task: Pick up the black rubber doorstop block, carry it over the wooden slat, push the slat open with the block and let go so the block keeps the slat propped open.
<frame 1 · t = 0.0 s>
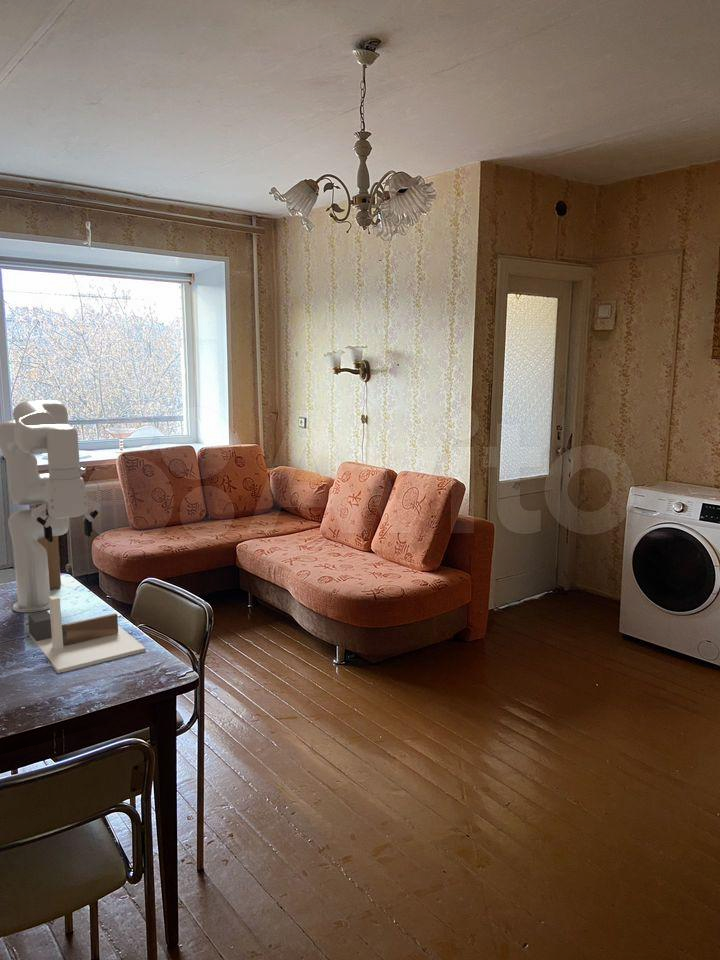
hand: (69, 538, 185), 31 cm above the table, tool pointing down, fingers open, 9 cm apart
doorstop block: (42, 634, 198), point 1 cm above the table, touching gate frame
wooden block: (44, 587, 245), on the table
wooden slat: (90, 629, 194), point 4 cm above the table, hinge at 0.0°
gate frame: (85, 644, 194), on the table
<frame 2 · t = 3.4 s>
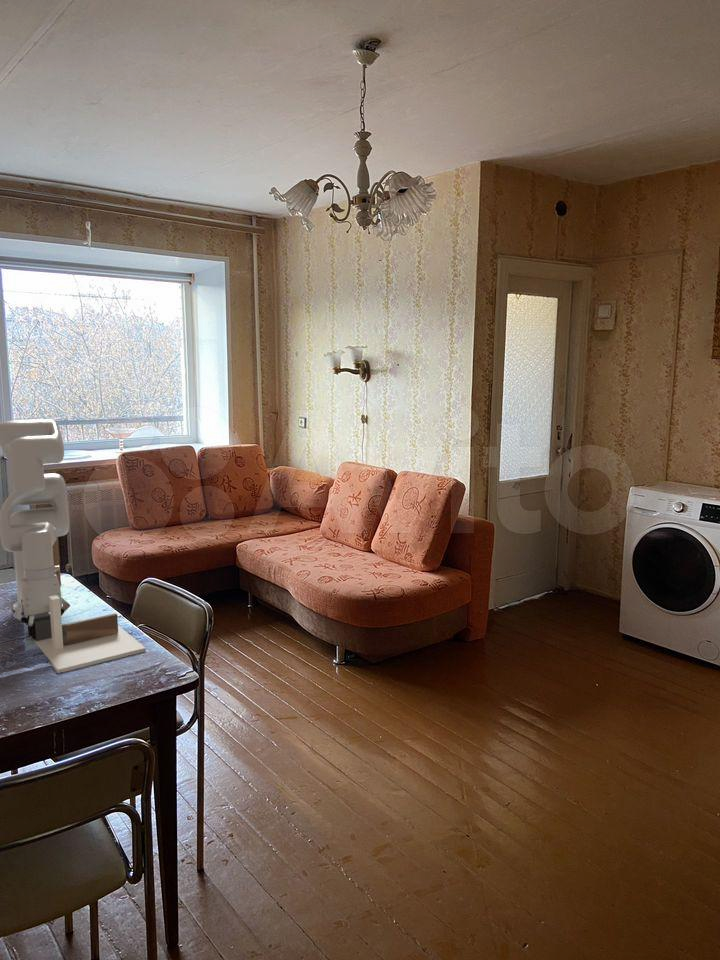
hand: (44, 634, 196), 2 cm above the table, tool pointing down, fingers closed on doorstop block, 5 cm apart
doorstop block: (42, 634, 198), point 1 cm above the table, touching gate frame, gripper
everything else where it was.
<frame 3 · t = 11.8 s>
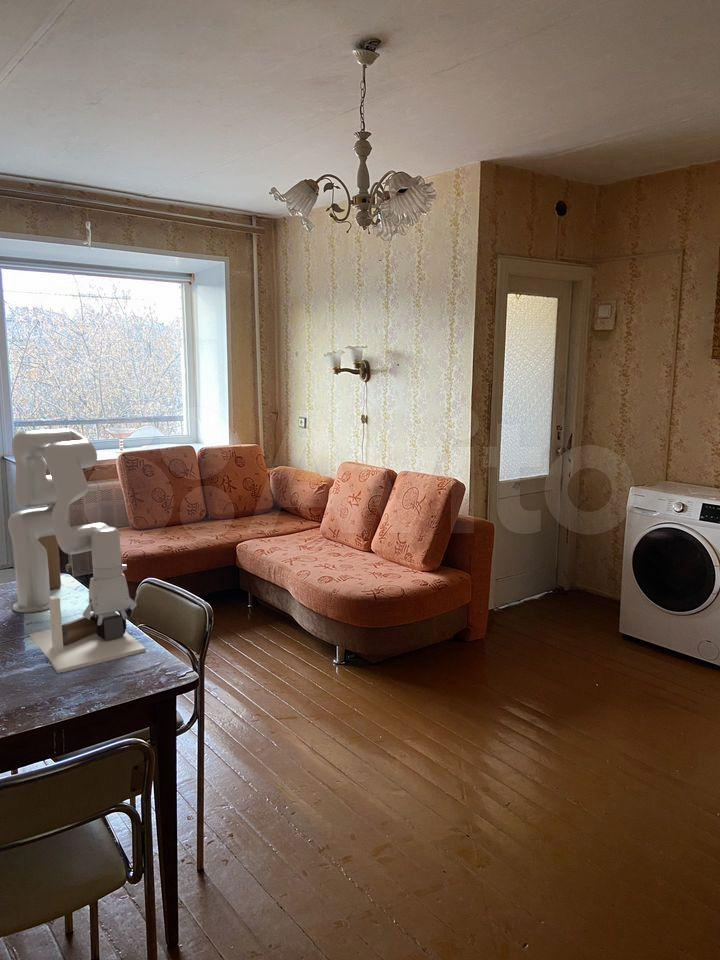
hand: (112, 634, 196), 2 cm above the table, tool pointing down, fingers closed on doorstop block, 5 cm apart
doorstop block: (110, 634, 197), point 1 cm above the table, touching wooden slat, gripper
wooden slat: (84, 626, 196), point 4 cm above the table, hinge at 25.2°, touching doorstop block
everything else where it was.
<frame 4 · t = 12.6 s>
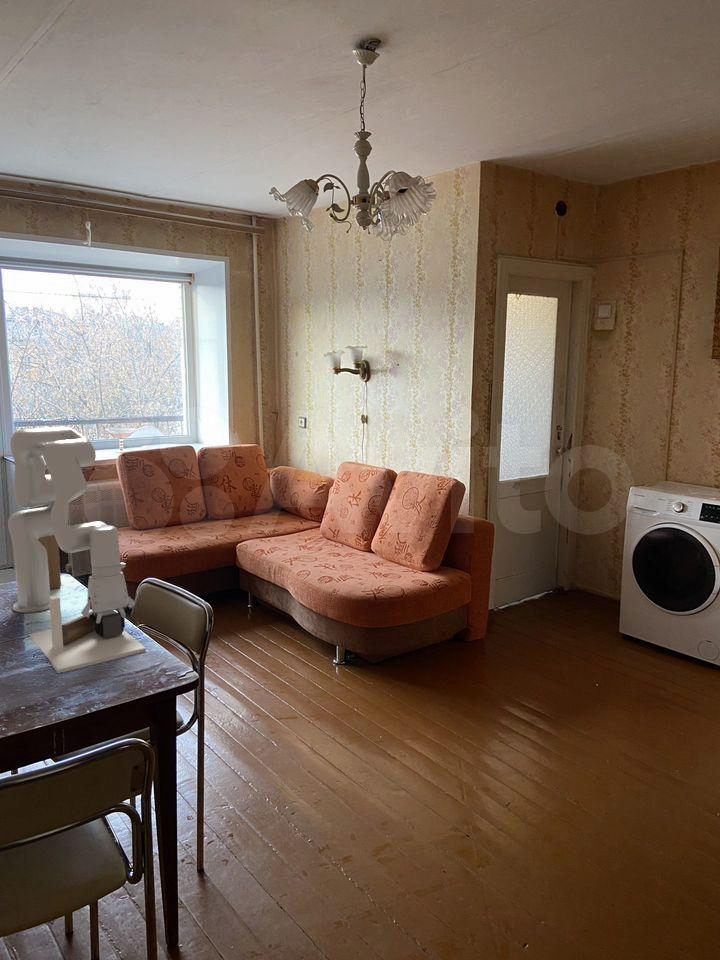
hand: (110, 632, 197), 2 cm above the table, tool pointing down, fingers closed on doorstop block, 5 cm apart
doorstop block: (108, 632, 198), point 1 cm above the table, touching wooden slat, gripper
wooden slat: (82, 626, 196), point 4 cm above the table, hinge at 32.1°, touching doorstop block
everything else where it was.
when the fingers open (2 cm above the table, at t = 12.9 s): doorstop block stays where it is, resting on wooden slat, gate frame.
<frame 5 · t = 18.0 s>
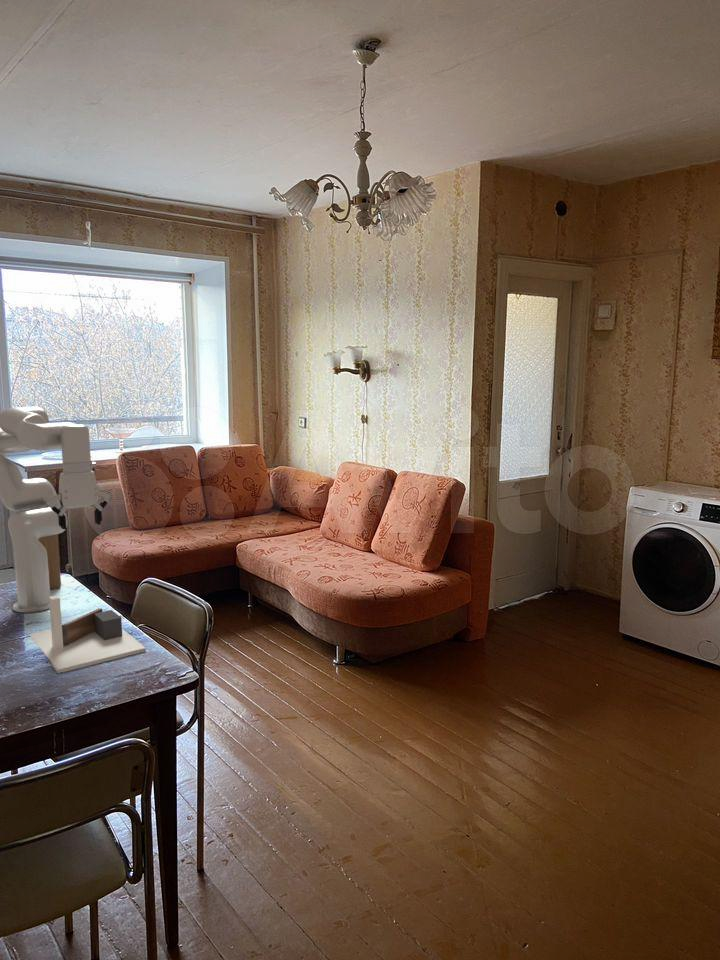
hand: (81, 526, 203), 30 cm above the table, tool pointing down, fingers open, 9 cm apart
doorstop block: (108, 634, 199), point 1 cm above the table, touching wooden slat, gate frame
wooden slat: (82, 626, 196), point 4 cm above the table, hinge at 31.3°, touching doorstop block
everything else where it was.
at the end: wooden slat at +31° (first picture: +0°); doorstop block touching wooden slat, gate frame; the gripper is holding nothing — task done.
